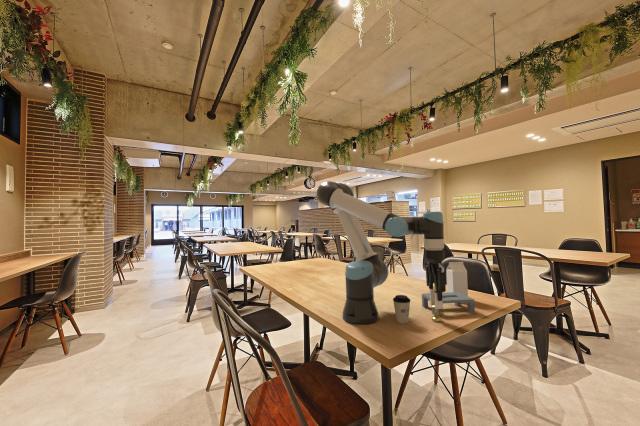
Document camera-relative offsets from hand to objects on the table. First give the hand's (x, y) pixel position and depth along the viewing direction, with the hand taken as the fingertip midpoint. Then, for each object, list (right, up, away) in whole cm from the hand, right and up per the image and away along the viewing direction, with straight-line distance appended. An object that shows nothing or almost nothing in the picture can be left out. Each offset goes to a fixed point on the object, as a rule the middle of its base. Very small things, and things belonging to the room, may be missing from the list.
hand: (436, 306), depth 110 cm
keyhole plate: (+10, -6, +12) cm, 17 cm away
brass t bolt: (0, -6, 0) cm, 6 cm away
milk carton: (+22, -6, +27) cm, 36 cm away
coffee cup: (-14, -6, 0) cm, 15 cm away
